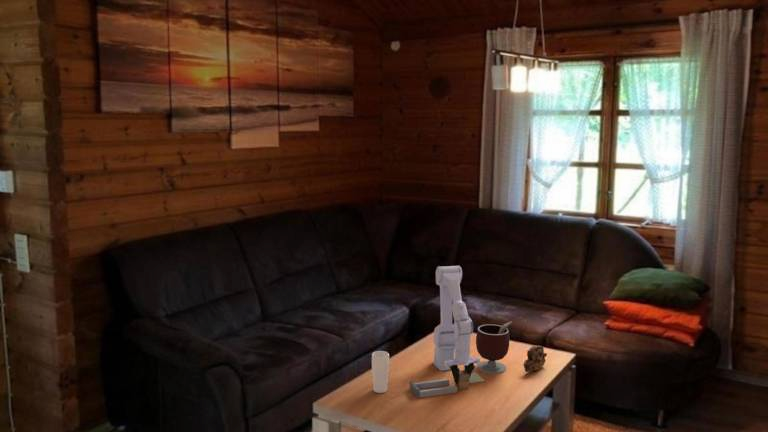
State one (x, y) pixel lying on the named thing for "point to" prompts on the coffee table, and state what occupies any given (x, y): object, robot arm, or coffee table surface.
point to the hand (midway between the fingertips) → (461, 382)
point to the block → (463, 380)
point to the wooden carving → (535, 358)
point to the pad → (475, 378)
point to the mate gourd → (492, 347)
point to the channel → (419, 387)
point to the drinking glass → (380, 371)
